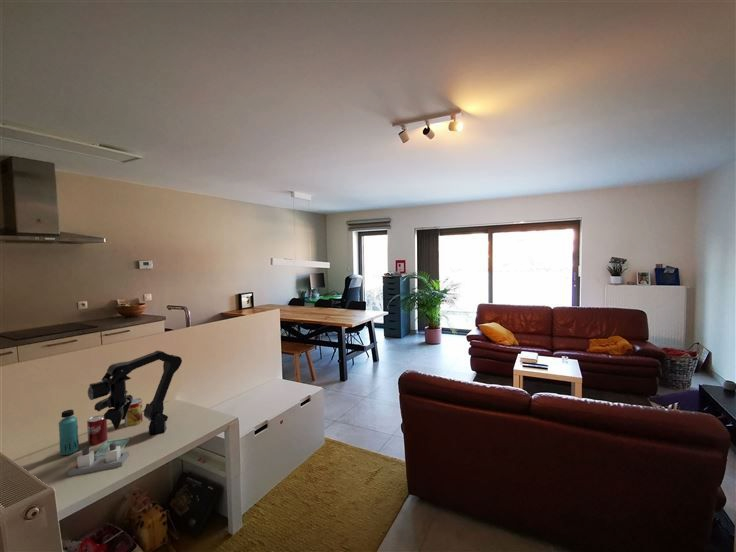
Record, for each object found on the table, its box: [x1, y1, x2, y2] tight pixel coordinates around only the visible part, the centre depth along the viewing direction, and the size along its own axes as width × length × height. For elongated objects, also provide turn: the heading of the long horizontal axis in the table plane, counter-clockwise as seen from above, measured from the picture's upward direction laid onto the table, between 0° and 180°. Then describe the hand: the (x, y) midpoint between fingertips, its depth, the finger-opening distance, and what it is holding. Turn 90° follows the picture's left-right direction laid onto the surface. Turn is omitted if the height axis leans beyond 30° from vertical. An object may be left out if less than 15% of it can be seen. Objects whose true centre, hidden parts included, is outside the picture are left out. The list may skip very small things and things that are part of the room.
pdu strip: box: [68, 451, 129, 477], centre depth 136 cm, size 18×8×3 cm, turn 110°
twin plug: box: [76, 446, 95, 468], centre depth 135 cm, size 4×4×8 cm
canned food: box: [123, 397, 144, 428], centre depth 173 cm, size 8×8×12 cm
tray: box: [94, 436, 132, 457], centre depth 150 cm, size 13×10×1 cm
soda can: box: [86, 414, 109, 446], centre depth 155 cm, size 7×7×12 cm
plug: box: [105, 442, 121, 463], centre depth 138 cm, size 4×4×8 cm
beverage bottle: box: [58, 409, 80, 456], centre depth 145 cm, size 6×7×20 cm
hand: (120, 424), depth 149 cm, fingers open, 9 cm apart
